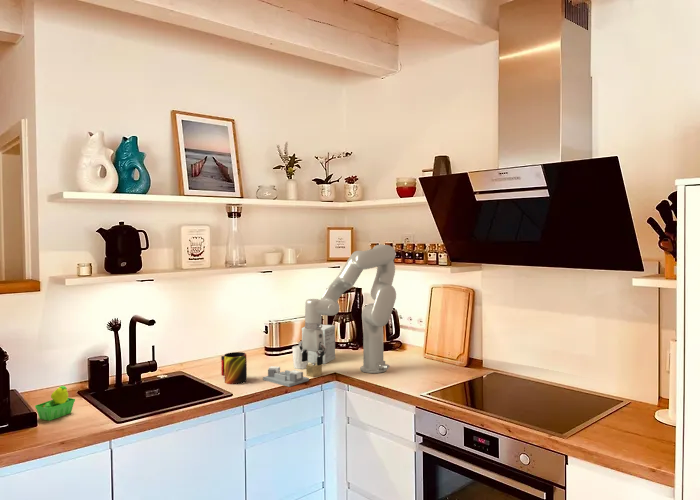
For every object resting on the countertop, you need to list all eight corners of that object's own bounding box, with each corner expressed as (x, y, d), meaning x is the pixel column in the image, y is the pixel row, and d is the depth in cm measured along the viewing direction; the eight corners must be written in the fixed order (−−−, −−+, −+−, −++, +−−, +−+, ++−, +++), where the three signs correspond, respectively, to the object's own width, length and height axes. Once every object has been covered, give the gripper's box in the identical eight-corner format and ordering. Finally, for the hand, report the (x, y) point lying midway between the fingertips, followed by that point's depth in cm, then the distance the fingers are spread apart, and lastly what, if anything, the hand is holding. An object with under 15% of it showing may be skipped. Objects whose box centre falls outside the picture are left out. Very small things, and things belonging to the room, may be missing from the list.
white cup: (307, 369, 256) (307, 348, 255) (291, 369, 256) (291, 348, 255) (309, 365, 264) (309, 345, 263) (293, 365, 264) (293, 345, 263)
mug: (222, 377, 243) (222, 351, 243) (250, 379, 240) (250, 352, 239) (212, 383, 234) (211, 356, 233) (240, 385, 231) (240, 357, 230)
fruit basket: (61, 409, 200) (60, 380, 200) (79, 412, 197) (78, 382, 197) (33, 420, 190) (32, 388, 189) (51, 423, 187) (51, 391, 186)
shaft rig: (308, 380, 236) (308, 369, 236) (289, 386, 227) (288, 375, 227) (281, 373, 248) (281, 363, 248) (261, 379, 239) (261, 368, 239)
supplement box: (335, 358, 277) (335, 325, 277) (325, 364, 265) (324, 329, 265) (313, 356, 282) (312, 323, 282) (301, 362, 270) (301, 327, 270)
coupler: (315, 373, 249) (315, 361, 249) (321, 374, 246) (321, 362, 246) (306, 375, 244) (306, 364, 244) (312, 377, 242) (312, 365, 242)
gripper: (332, 327, 242) (331, 365, 242) (305, 322, 253) (304, 358, 253) (321, 329, 236) (320, 367, 237) (294, 324, 247) (293, 361, 248)
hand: (312, 362), depth 245 cm, fingers open, 9 cm apart
